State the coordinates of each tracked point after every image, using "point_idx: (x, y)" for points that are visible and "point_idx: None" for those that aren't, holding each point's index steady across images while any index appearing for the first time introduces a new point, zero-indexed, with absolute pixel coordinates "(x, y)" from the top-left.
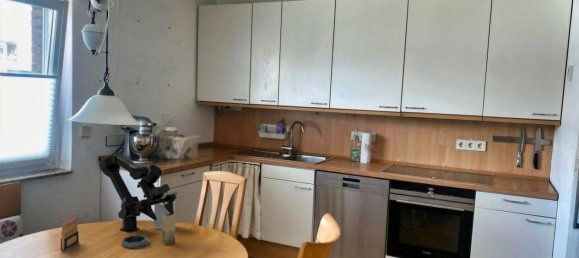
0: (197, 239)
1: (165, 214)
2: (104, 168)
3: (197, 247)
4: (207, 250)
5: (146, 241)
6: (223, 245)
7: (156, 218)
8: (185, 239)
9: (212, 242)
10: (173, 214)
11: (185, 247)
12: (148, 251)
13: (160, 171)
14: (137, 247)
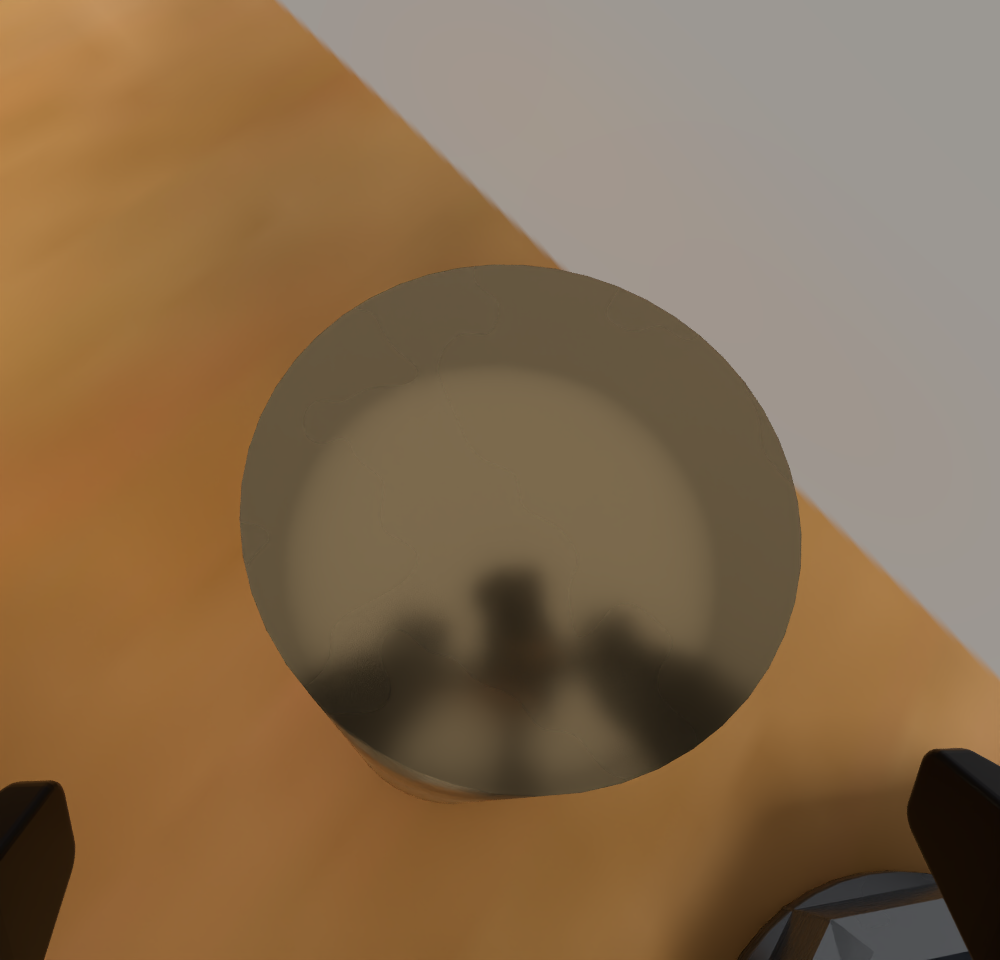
0: (6, 468)
1: (556, 729)
2: None
3: (299, 242)
4: (301, 103)
5: (825, 916)
6: (32, 66)
7: (969, 763)
8: (124, 622)
9: (5, 221)
10: (308, 452)
11: None
12: (879, 615)
13: None
14: None
